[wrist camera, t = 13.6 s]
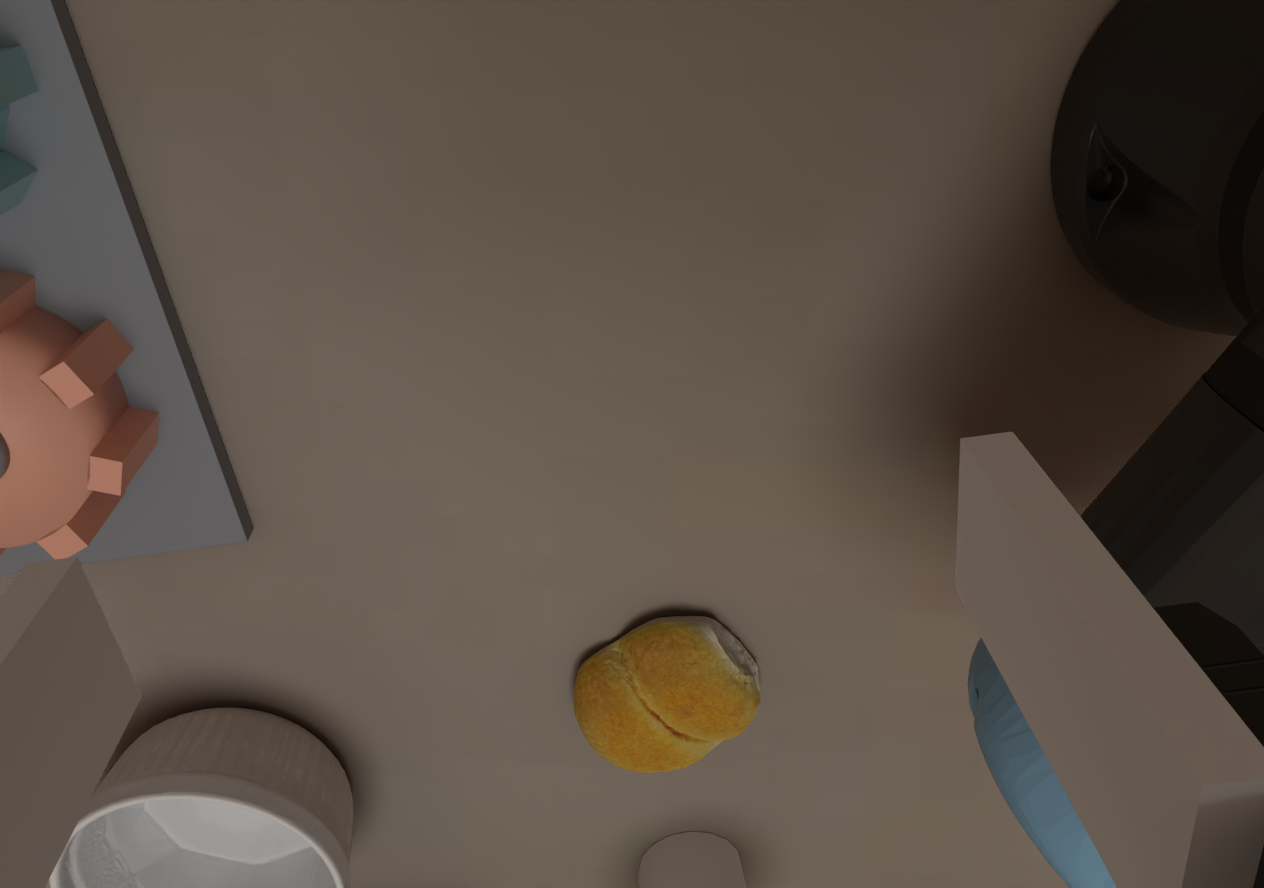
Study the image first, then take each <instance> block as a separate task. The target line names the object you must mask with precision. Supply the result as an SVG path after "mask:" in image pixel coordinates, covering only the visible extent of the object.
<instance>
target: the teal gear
mask: <svg viewBox="0 0 1264 888" xmlns="http://www.w3.org/2000/svg"><path fill="white" fill-rule="evenodd" d="M38 91H39V89H38V87H37V84H36V82H35V79H34V76H33V74H32V71H31V69H30V66H29V63H28V61H27V58H26V56H25V53H24V50H23V48H22V45H20V46H13V47H5V48H0V216H1V215H2V214H4V213H5V212H7V211H9V210H10V209H12V208H14V207H15V206H17V205H18V204H20V203H21V202H22V200H23V198H24V196H25V194H26V192H27V190H28V188H29V187H30V185H31V183H32V181H33V179H34V177H35V175H36V173H37V171H38V170H37V169H36V168H34V167H32V166H31V165H29V164H28V163H26V162H24V161H23V160H21V159H20V158H18V157H16V156H15V155H13V154H11V153H10V152H8V151H7V150H3V149H4V143H5V136H6V129H7V122H8V115H9V109H10V106H9V105H8V104H9V103H12V102H14V101H16V100H19V99H21V98H23V97H26V96H28V95H30V94H33V93H35V92H38Z"/></svg>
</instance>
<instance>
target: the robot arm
mask: <svg viewBox="0 0 1264 888" xmlns="http://www.w3.org/2000/svg"><path fill="white" fill-rule="evenodd" d="M1052 188H1053V196H1054V202H1055V207H1056V211H1057V215H1058V219H1059V221H1060V224H1061V227H1062V230H1063V232H1064V234H1065V237H1066V239H1067V241H1068V243H1069V245H1070V246H1071V248H1072V250H1073V252H1074V253H1075V255H1076V256H1077V257H1078V259H1079V260H1080V262H1081V263H1082V264H1083V265H1084V267H1085V268H1086V269H1087V270H1088V271H1089V272H1090V273H1091V274H1092V275H1093V276H1094V277H1095V278H1096V279H1097V280H1098V281H1099V282H1101V283H1102V284H1103V285H1105V286H1106V287H1107V288H1108V289H1110V290H1111V291H1112V292H1114V293H1115V294H1116V295H1118V296H1119V297H1120V298H1122V299H1123V300H1124V301H1125V302H1127V303H1128V304H1130V305H1131V306H1133V307H1134V308H1136V309H1137V310H1139V311H1141V312H1143V313H1145V314H1147V315H1149V316H1151V317H1153V318H1156V319H1158V320H1161V321H1163V322H1166V323H1168V324H1172V325H1175V326H1178V327H1182V328H1187V329H1192V330H1198V331H1204V332H1211V333H1218V334H1225V335H1232V336H1237V337H1236V338H1235V339H1234V340H1233V342H1232V343H1231V344H1230V345H1229V346H1228V347H1227V349H1226V350H1225V351H1224V352H1223V353H1222V354H1221V356H1220V357H1219V358H1218V359H1217V360H1216V361H1215V362H1214V364H1213V365H1212V366H1211V367H1210V368H1209V369H1208V371H1207V372H1206V373H1204V375H1202V376H1201V377H1200V378H1199V380H1198V381H1197V382H1196V383H1195V384H1194V386H1193V387H1192V388H1191V389H1190V390H1189V392H1188V393H1187V394H1186V395H1185V396H1184V398H1183V399H1182V400H1181V401H1180V402H1179V403H1178V405H1177V406H1176V407H1175V408H1174V409H1173V411H1172V412H1171V413H1170V414H1169V415H1168V416H1167V417H1166V419H1165V420H1164V421H1163V422H1162V423H1161V424H1160V425H1159V427H1158V428H1157V429H1156V430H1155V431H1154V432H1153V433H1152V435H1151V436H1150V437H1149V438H1148V439H1147V440H1146V441H1145V443H1144V444H1143V445H1142V446H1141V447H1140V448H1139V449H1138V451H1137V452H1136V453H1135V454H1134V455H1133V456H1132V457H1131V459H1130V460H1129V461H1128V462H1127V463H1126V464H1125V465H1124V467H1123V468H1122V469H1121V470H1120V471H1119V472H1118V473H1117V475H1116V476H1115V477H1114V478H1113V479H1112V480H1111V481H1110V483H1109V484H1108V485H1107V486H1106V487H1105V488H1104V489H1103V491H1102V492H1101V493H1100V494H1099V495H1098V496H1097V497H1096V499H1095V500H1094V501H1093V502H1092V503H1091V504H1090V505H1089V507H1088V508H1087V509H1086V510H1085V511H1084V512H1083V513H1082V515H1081V516H1079V515H1078V513H1077V512H1076V511H1075V509H1074V508H1073V507H1072V506H1071V504H1070V503H1069V502H1068V501H1067V499H1066V498H1065V497H1064V496H1063V494H1062V493H1061V492H1060V491H1059V489H1058V488H1057V487H1056V486H1055V484H1054V483H1053V482H1052V481H1051V479H1050V478H1049V477H1048V476H1047V474H1046V473H1045V472H1044V471H1043V469H1042V468H1041V467H1040V466H1039V464H1038V463H1037V462H1036V461H1035V459H1034V458H1033V457H1032V455H1031V454H1030V453H1029V452H1028V450H1027V449H1026V448H1025V447H1024V445H1023V444H1022V443H1021V442H1020V440H1019V439H1018V438H1017V437H1016V435H1015V434H1014V433H1013V432H1004V433H997V434H990V435H982V436H975V437H967V438H960V463H959V491H958V518H957V545H956V573H955V590H956V592H957V593H958V595H959V597H960V599H961V601H962V603H963V605H964V606H965V608H966V610H967V612H968V614H969V616H970V617H971V619H972V621H973V623H974V625H975V627H976V629H977V630H978V632H979V634H980V636H981V638H980V640H979V642H978V644H977V646H976V648H975V651H974V653H973V656H972V659H971V663H970V668H969V675H968V691H969V703H970V707H971V710H972V712H973V715H974V718H975V719H974V729H975V732H976V736H977V739H978V742H979V745H980V748H981V751H982V753H983V756H984V758H985V761H986V763H987V765H988V767H989V769H990V772H991V774H992V776H993V778H994V780H995V782H996V784H997V786H998V788H999V790H1000V791H1001V793H1002V795H1003V797H1004V799H1005V801H1006V802H1007V804H1008V806H1009V807H1010V809H1011V811H1012V812H1013V814H1014V815H1015V817H1016V818H1017V820H1018V821H1019V823H1020V824H1021V826H1022V827H1023V829H1024V830H1025V832H1026V833H1027V835H1028V836H1029V838H1030V839H1031V840H1032V842H1033V843H1034V844H1035V846H1036V847H1037V848H1038V850H1039V851H1040V852H1041V854H1042V855H1043V857H1044V858H1045V859H1046V861H1047V862H1048V863H1049V864H1050V866H1051V867H1052V868H1053V869H1054V870H1055V871H1056V873H1057V874H1058V875H1059V876H1060V877H1061V878H1062V879H1063V881H1064V882H1065V883H1066V884H1067V885H1068V887H1069V888H1264V0H1122V1H1121V2H1120V4H1119V5H1118V6H1117V7H1116V8H1115V9H1114V11H1113V12H1112V13H1111V14H1110V16H1109V17H1108V18H1107V20H1106V21H1105V22H1104V24H1103V25H1102V26H1101V28H1100V29H1099V31H1098V32H1097V34H1096V35H1095V37H1094V38H1093V40H1092V41H1091V43H1090V44H1089V46H1088V48H1087V50H1086V51H1085V53H1084V55H1083V57H1082V58H1081V60H1080V62H1079V64H1078V66H1077V68H1076V70H1075V72H1074V75H1073V77H1072V79H1071V82H1070V84H1069V86H1068V89H1067V91H1066V94H1065V97H1064V100H1063V103H1062V106H1061V110H1060V113H1059V117H1058V121H1057V125H1056V130H1055V135H1054V142H1053V150H1052ZM141 698H142V695H141V693H140V691H139V689H138V686H137V684H136V682H135V680H134V678H133V676H132V674H131V671H130V669H129V667H128V665H127V663H126V661H125V658H124V656H123V654H122V652H121V650H120V648H119V646H118V643H117V641H116V639H115V637H114V635H113V633H112V631H111V628H110V626H109V624H108V622H107V620H106V618H105V615H104V613H103V611H102V609H101V607H100V605H99V603H98V600H97V598H96V596H95V594H94V592H93V590H92V587H91V585H90V583H89V581H88V579H87V577H86V575H85V572H84V570H83V568H82V566H81V564H80V562H79V559H78V557H71V558H63V559H56V560H48V561H41V562H33V563H26V564H25V565H24V567H23V568H22V569H21V571H20V572H19V573H18V575H17V576H16V577H15V578H14V580H13V581H12V582H11V584H10V585H9V586H8V587H7V589H6V590H5V591H4V593H3V594H2V595H1V596H0V888H45V886H46V884H47V882H48V880H49V878H50V876H51V874H52V872H53V870H54V868H55V866H56V864H57V862H58V860H59V858H60V857H61V855H62V853H63V851H64V849H65V847H66V845H67V843H68V841H69V839H70V837H71V835H72V833H73V831H74V829H75V827H76V825H77V823H78V821H79V819H80V817H81V815H82V813H83V811H84V809H85V808H86V806H87V804H88V802H89V800H90V798H91V796H92V794H93V792H94V790H95V788H96V786H97V784H98V782H99V780H100V778H101V776H102V774H103V772H104V770H105V768H106V766H107V764H108V762H109V760H110V758H111V757H112V755H113V753H114V751H115V749H116V747H117V745H118V743H119V741H120V739H121V737H122V735H123V733H124V731H125V729H126V727H127V725H128V723H129V721H130V719H131V717H132V715H133V713H134V711H135V709H136V707H137V706H138V704H139V702H140V700H141Z"/></svg>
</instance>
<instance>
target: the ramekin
mask: <svg viewBox="0 0 1264 888" xmlns="http://www.w3.org/2000/svg"><path fill="white" fill-rule="evenodd" d="M352 834H353V797H352V793H351V788H350V784H349V782H348V779H347V777H346V773H345V771H344V770H343V768H342V767H341V765H340V763H339V761H338V760H337V759H336V758H335V756H334V755H333V754H332V752H331V751H330V750H329V749H328V748H327V747H326V746H325V745H324V744H323V743H322V742H321V741H320V740H319V739H318V738H317V737H315V736H314V735H313V734H311V733H310V732H309V731H307V730H306V729H304V728H302V727H301V726H299V725H297V724H295V723H293V722H291V721H289V720H287V719H284V718H282V717H279V716H276V715H273V714H270V713H266V712H263V711H258V710H253V709H246V708H235V707H222V708H209V709H202V710H197V711H193V712H190V713H186V714H180V715H178V716H176V717H174V718H170V719H167V720H165V721H163V722H162V723H160V724H157V725H155V726H153V727H152V728H150V729H149V730H148V731H147V732H145V733H143V734H142V735H141V736H139V737H138V738H137V739H136V740H135V742H134V743H133V744H131V745H130V746H129V747H128V748H127V749H126V751H125V752H124V753H123V754H122V755H121V757H120V758H119V759H118V761H117V762H116V764H115V765H114V766H113V768H112V769H111V770H110V772H109V773H108V774H107V776H106V777H105V779H104V780H103V781H102V783H101V784H100V786H99V787H98V788H97V790H96V791H95V793H94V794H93V795H92V797H91V798H90V800H89V802H88V804H87V806H86V808H85V809H84V811H83V813H82V815H81V817H80V819H79V821H78V823H77V825H76V827H75V829H74V831H73V833H72V835H71V837H70V839H69V841H68V843H67V845H66V847H65V849H64V851H63V853H62V855H61V857H60V858H59V860H58V862H57V864H56V866H55V868H54V870H53V872H52V874H51V876H50V878H49V884H50V888H351V872H350V867H349V863H350V854H351V845H352Z"/></svg>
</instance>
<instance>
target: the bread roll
mask: <svg viewBox="0 0 1264 888" xmlns="http://www.w3.org/2000/svg"><path fill="white" fill-rule="evenodd" d="M760 690H761V689H760V681H759V674H758V666H757V664H756V663H755V662H754V660H753V659H752V657H751V656H750V654H749V653H748V652H747V651H746V649H745V648H744V647H743V645H742V644H741V642H740V641H739V640H738V639H737V638H736V637H735V636H733V635H732V634H731V633H730V632H729V631H728V630H727V629H726V628H724V627H723V626H722V625H721V624H720V623H718V622H717V621H715V620H714V619H712V618H709V617H704V616H673V617H661V618H656V619H653V620H650V621H648V622H647V623H644V624H642V625H640V626H638V627H637V628H635V629H633V630H632V631H630V632H629V633H628V634H626V635H624V636H622V637H621V638H620V639H619V640H617V641H616V642H614V643H612V644H610V645H608V646H606V647H604V648H602V649H601V650H599V651H598V652H597V653H595V654H593V655H592V656H590V657H589V658H588V659H587V660H586V661H585V662H584V663H583V664H582V665H581V667H580V668H579V670H578V673H577V677H576V681H575V686H574V710H575V716H576V718H577V720H578V723H579V725H580V728H581V730H582V732H583V734H584V736H585V738H586V739H587V741H588V742H589V744H590V745H591V746H592V747H593V749H594V750H595V751H596V752H597V753H598V754H599V755H601V756H602V757H603V758H604V759H606V760H607V761H609V762H610V763H612V764H614V765H615V766H617V767H620V768H623V769H626V770H629V771H634V772H643V773H651V772H662V771H671V770H677V769H681V768H686V767H688V766H690V765H692V764H694V763H695V762H697V761H698V760H700V759H701V758H703V757H704V756H706V755H707V754H708V753H709V752H711V751H712V750H713V749H714V748H715V747H716V746H717V745H719V744H720V743H721V742H722V741H723V740H727V739H731V738H734V737H736V736H738V735H740V734H742V733H743V731H744V730H745V729H746V728H747V726H748V725H749V724H750V723H751V721H752V720H753V719H754V717H755V715H756V713H757V711H758V708H759V704H760Z"/></svg>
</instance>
